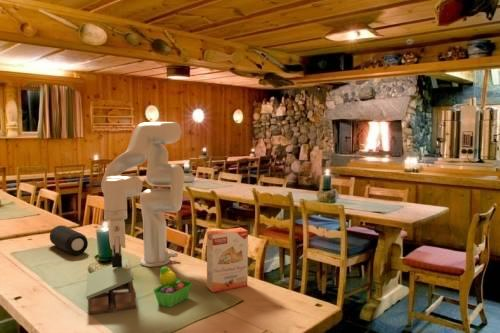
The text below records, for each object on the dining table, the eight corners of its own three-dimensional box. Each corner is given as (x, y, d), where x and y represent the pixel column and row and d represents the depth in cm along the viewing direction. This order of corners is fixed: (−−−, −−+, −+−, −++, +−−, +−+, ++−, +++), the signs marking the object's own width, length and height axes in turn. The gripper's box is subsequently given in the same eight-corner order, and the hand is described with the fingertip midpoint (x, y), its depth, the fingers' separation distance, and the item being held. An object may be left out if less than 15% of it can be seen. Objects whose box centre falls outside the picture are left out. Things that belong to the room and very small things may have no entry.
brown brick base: (131, 285, 153) (131, 272, 153) (136, 308, 135) (136, 293, 134) (89, 291, 148) (89, 277, 148) (88, 315, 130) (87, 299, 129)
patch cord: (112, 286, 150) (112, 283, 150) (114, 309, 131) (114, 305, 131) (108, 287, 149) (108, 283, 149) (110, 310, 131) (109, 305, 131)
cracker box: (212, 293, 146) (212, 234, 144) (206, 287, 152) (205, 230, 150) (248, 286, 153) (248, 230, 151) (241, 281, 158) (241, 226, 156)
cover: (129, 260, 152) (127, 256, 152) (133, 279, 133) (131, 275, 133) (88, 276, 148) (86, 272, 148) (87, 299, 129) (85, 295, 129)
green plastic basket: (170, 310, 133) (169, 275, 132) (149, 303, 138) (149, 270, 137) (193, 297, 143) (192, 265, 142) (173, 292, 148) (172, 261, 147)
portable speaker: (90, 253, 193) (89, 232, 192) (68, 258, 186) (67, 236, 185) (69, 242, 211) (68, 223, 210) (48, 246, 204) (47, 226, 203)
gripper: (128, 217, 138) (129, 272, 140) (125, 209, 152) (126, 259, 154) (104, 219, 136) (106, 274, 137) (103, 211, 150) (105, 261, 151)
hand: (117, 266), depth 146 cm, fingers closed
